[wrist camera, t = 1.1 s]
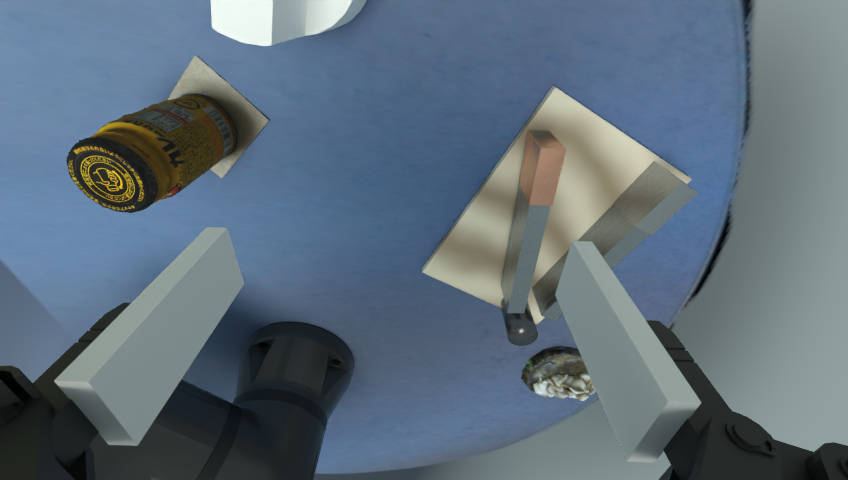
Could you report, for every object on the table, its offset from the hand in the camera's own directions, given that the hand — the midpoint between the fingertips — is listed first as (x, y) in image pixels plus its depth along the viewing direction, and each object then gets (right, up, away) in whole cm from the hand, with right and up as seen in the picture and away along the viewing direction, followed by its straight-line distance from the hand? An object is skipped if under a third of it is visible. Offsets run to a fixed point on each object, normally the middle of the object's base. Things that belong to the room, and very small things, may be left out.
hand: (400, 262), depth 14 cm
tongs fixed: (+17, 0, +25) cm, 30 cm away
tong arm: (+11, +3, +23) cm, 25 cm away
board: (+14, +2, +24) cm, 28 cm away
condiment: (-19, +12, +19) cm, 29 cm away
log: (+21, -18, +38) cm, 47 cm away
